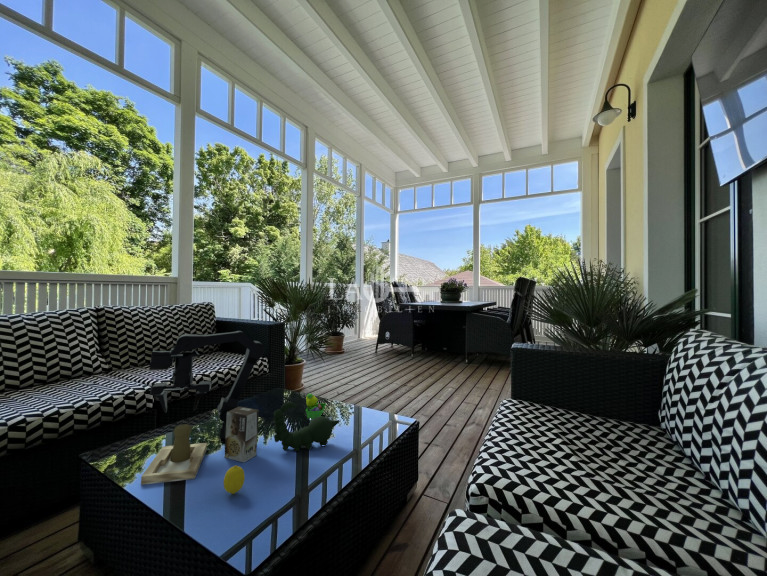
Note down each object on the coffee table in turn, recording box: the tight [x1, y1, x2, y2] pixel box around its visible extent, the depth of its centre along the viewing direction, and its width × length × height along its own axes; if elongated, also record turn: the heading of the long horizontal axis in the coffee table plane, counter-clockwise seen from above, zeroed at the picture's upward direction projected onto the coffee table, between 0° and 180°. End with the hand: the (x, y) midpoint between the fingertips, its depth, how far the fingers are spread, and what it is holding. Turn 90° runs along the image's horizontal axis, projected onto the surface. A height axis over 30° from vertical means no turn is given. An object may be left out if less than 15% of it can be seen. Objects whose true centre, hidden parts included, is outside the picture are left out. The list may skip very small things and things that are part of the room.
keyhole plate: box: [140, 442, 208, 486], centre depth 107 cm, size 14×20×2 cm
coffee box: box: [224, 406, 260, 463], centre depth 116 cm, size 9×6×16 cm
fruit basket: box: [305, 393, 327, 419], centre depth 157 cm, size 11×9×11 cm
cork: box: [170, 423, 193, 462], centre depth 111 cm, size 6×6×11 cm
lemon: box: [223, 465, 246, 495], centre depth 94 cm, size 6×6×8 cm
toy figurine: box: [272, 401, 340, 452], centre depth 125 cm, size 9×19×25 cm
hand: (180, 411), depth 120 cm, fingers open, 9 cm apart
